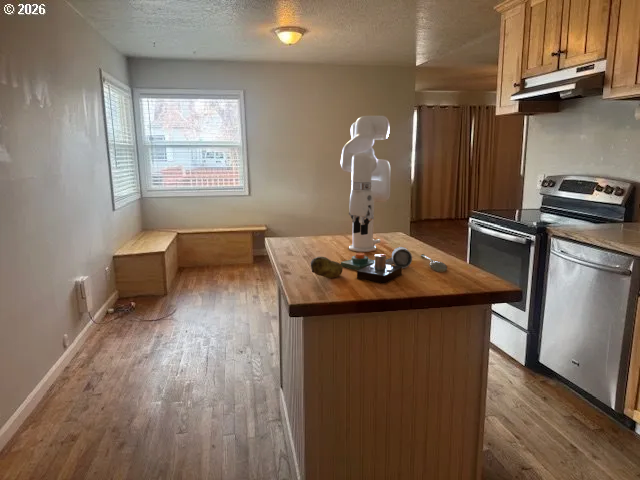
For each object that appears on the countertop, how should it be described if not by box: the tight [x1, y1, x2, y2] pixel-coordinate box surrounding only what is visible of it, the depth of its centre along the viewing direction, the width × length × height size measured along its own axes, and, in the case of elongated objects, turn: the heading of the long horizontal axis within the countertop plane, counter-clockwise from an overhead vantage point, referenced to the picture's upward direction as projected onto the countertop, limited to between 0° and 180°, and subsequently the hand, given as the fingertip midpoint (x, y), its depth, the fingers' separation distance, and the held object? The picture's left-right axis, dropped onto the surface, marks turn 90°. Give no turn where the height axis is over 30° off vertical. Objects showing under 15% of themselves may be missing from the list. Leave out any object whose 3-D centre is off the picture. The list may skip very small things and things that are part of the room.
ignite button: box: [355, 252, 366, 259], centre depth 174 cm, size 4×4×2 cm
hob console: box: [356, 263, 403, 285], centre depth 160 cm, size 14×11×3 cm
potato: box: [310, 256, 344, 279], centre depth 158 cm, size 8×13×8 cm, turn 108°
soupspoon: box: [420, 253, 448, 273], centre depth 177 cm, size 22×3×7 cm
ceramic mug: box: [386, 246, 413, 269], centre depth 174 cm, size 11×8×8 cm
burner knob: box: [374, 253, 387, 270], centre depth 159 cm, size 4×4×5 cm
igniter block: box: [340, 255, 375, 271], centre depth 175 cm, size 12×10×4 cm
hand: (360, 233), depth 172 cm, fingers open, 3 cm apart
